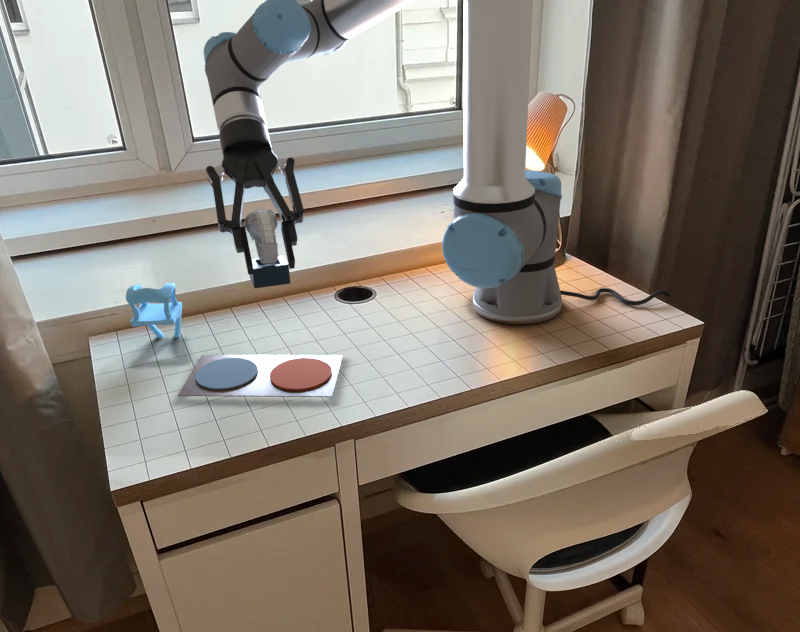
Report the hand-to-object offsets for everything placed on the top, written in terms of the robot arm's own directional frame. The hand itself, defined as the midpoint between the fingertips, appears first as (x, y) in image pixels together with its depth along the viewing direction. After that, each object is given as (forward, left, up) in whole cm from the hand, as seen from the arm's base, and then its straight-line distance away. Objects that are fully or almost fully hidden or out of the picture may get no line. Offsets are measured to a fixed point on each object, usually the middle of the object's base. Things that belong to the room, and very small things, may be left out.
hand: (271, 267), depth 105 cm
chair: (+19, +1, -14) cm, 23 cm away
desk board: (+1, +10, -14) cm, 17 cm away
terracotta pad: (-5, +10, -13) cm, 17 cm away
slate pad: (+6, +10, -13) cm, 17 cm away
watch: (+1, -3, -4) cm, 5 cm away
